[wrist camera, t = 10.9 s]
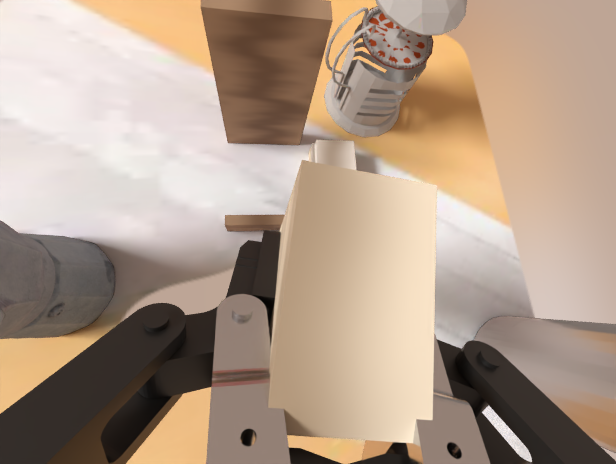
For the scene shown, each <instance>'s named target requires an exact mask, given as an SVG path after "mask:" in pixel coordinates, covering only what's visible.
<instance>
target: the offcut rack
mask: <svg viewBox="0 0 616 464" xmlns="http://www.w3.org/2000/svg"><path fill="white" fill-rule="evenodd" d="M201 11H202V16H203V21H204V26H205V31H206V36H207V41H208V46H209V51H210V56H211V61H212V66H213V71H214V76H215V81H216V86H217V91H218V96H219V101H220V106H221V111H222V116H223V121H224V126H225V131H226V136H227V141H228V143H249V144H282V145H300V141H301V137H302V133H303V130H304V126H305V122H306V118H307V115H308V111H309V107H310V103H311V100H312V96H313V92H314V88H315V84H316V81H317V77H318V73H319V69H320V66H321V62H322V58H323V54H324V50H325V47H326V43H327V39H328V35H329V32H330V28H331V24H332V9H331V1H326V0H201ZM284 216H285V215H225V227H226V229H227V231H259V230H280V228H281V225H282V222H283V219H284Z"/></svg>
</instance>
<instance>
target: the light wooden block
mask: <svg viewBox="0 0 616 464" xmlns="http://www.w3.org/2000/svg"><path fill="white" fill-rule="evenodd" d="M436 210H437V185H432V184H427V183H422V182H416V181H411V180H406V179H400V178H395V177H390V176H384V175H379V174H374V173H369V172H363V171H358V170H353V169H347V168H342V167H337V166H331V165H326V164H321V163H315V162H310V161H305V160H302V162H301V165H300V168H299V171H298V175H297V178H296V181H295V184H294V187H293V190H292V194H291V197H290V200H289V203H288V206H287V209H286V213H285V216H284V219H283V222H282V225H281V228H280V231H279V232H281V239H280V250H279V261H278V272H277V283H276V295H275V301H274V306H273V312H272V317H271V322H270V327H269V336H270V345H271V355H270V366H269V373H270V391H269V403H268V408H279V409H284V416H285V423H286V431H287V435H295V436H310V437H325V438H340V439H355V440H370V441H385V442H400V443H413V438H414V431H415V423H416V419H421V420H433V372H434V318H435V264H436Z"/></svg>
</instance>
